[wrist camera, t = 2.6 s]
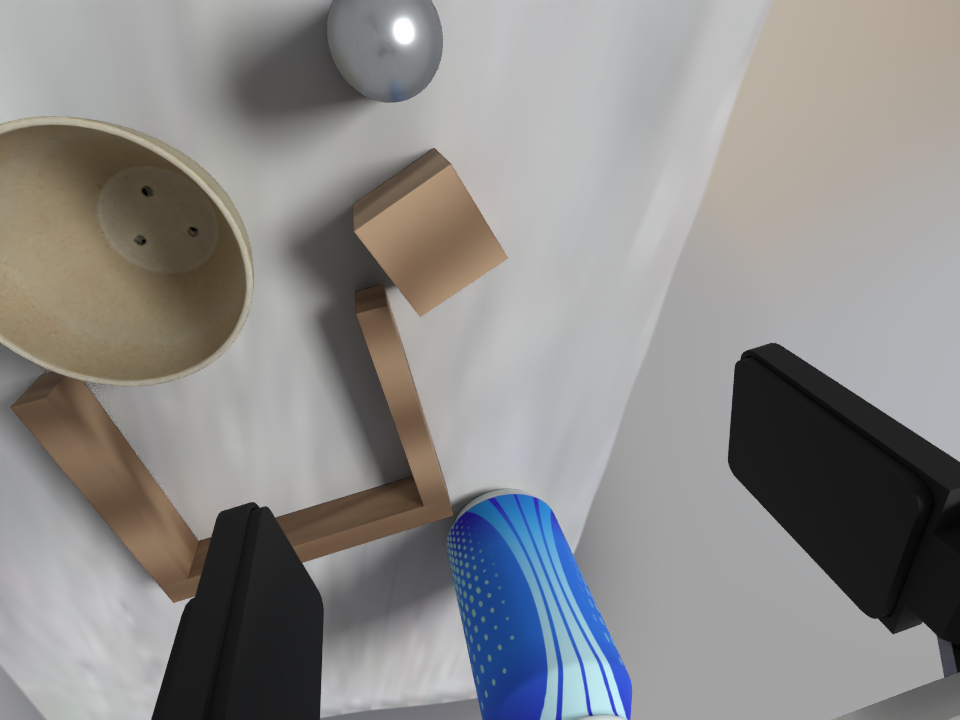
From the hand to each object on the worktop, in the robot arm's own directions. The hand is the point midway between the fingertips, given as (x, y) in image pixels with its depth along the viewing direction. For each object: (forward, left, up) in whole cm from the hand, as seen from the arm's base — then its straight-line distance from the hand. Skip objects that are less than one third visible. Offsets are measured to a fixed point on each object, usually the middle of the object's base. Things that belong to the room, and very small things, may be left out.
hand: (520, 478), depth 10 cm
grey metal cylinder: (-8, +1, -20) cm, 22 cm away
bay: (+10, -11, -20) cm, 25 cm away
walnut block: (0, +1, -20) cm, 20 cm away
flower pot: (-3, -11, -20) cm, 24 cm away
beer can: (+24, +1, -20) cm, 32 cm away
